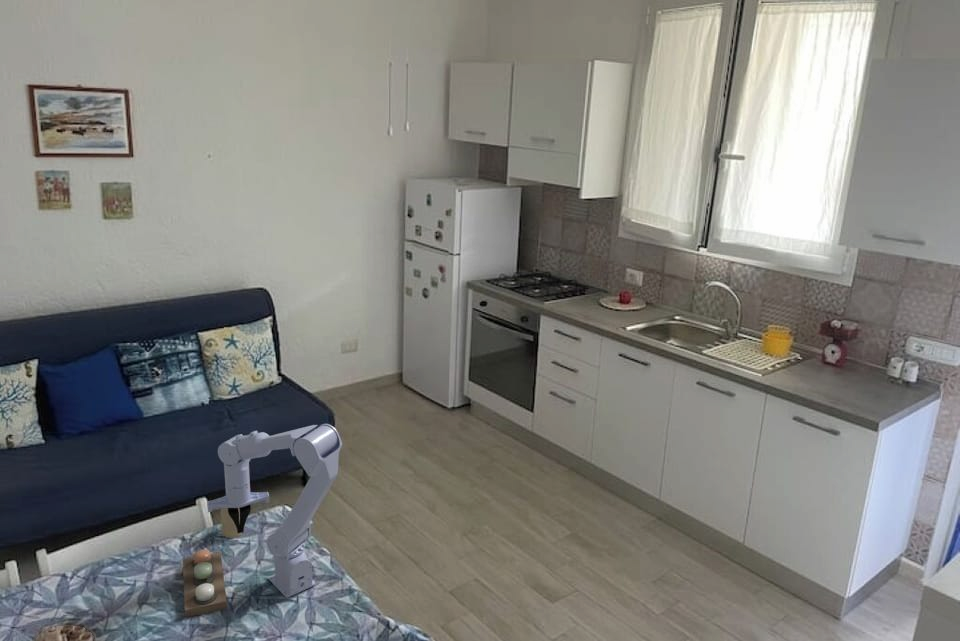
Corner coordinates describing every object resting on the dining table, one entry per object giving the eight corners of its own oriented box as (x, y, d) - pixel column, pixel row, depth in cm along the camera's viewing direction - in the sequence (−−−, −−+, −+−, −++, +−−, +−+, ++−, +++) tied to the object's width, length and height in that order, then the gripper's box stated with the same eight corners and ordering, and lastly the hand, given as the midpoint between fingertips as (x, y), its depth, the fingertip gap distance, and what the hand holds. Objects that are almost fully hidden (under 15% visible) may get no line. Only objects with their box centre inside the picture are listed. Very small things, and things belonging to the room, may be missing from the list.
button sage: (212, 576, 172) (212, 570, 171) (194, 580, 170) (194, 574, 169) (211, 567, 175) (211, 560, 175) (194, 570, 174) (193, 564, 173)
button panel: (227, 608, 167) (226, 600, 166) (185, 617, 163) (184, 609, 162) (221, 558, 184) (220, 551, 183) (183, 565, 181) (182, 557, 180)
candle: (239, 538, 193) (237, 506, 190) (219, 537, 193) (216, 505, 190) (246, 527, 198) (244, 495, 195) (226, 526, 198) (224, 494, 195)
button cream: (214, 598, 166) (214, 592, 165) (196, 602, 164) (195, 596, 164) (213, 588, 169) (213, 581, 169) (195, 591, 168) (195, 585, 167)
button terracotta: (211, 563, 178) (210, 557, 177) (194, 566, 176) (193, 560, 176) (210, 554, 181) (209, 548, 181) (193, 557, 180) (192, 551, 179)
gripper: (266, 470, 182) (268, 517, 186) (205, 479, 177) (208, 527, 181) (269, 484, 176) (271, 532, 180) (206, 493, 171) (210, 543, 175)
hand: (240, 530), depth 180 cm, fingers closed
